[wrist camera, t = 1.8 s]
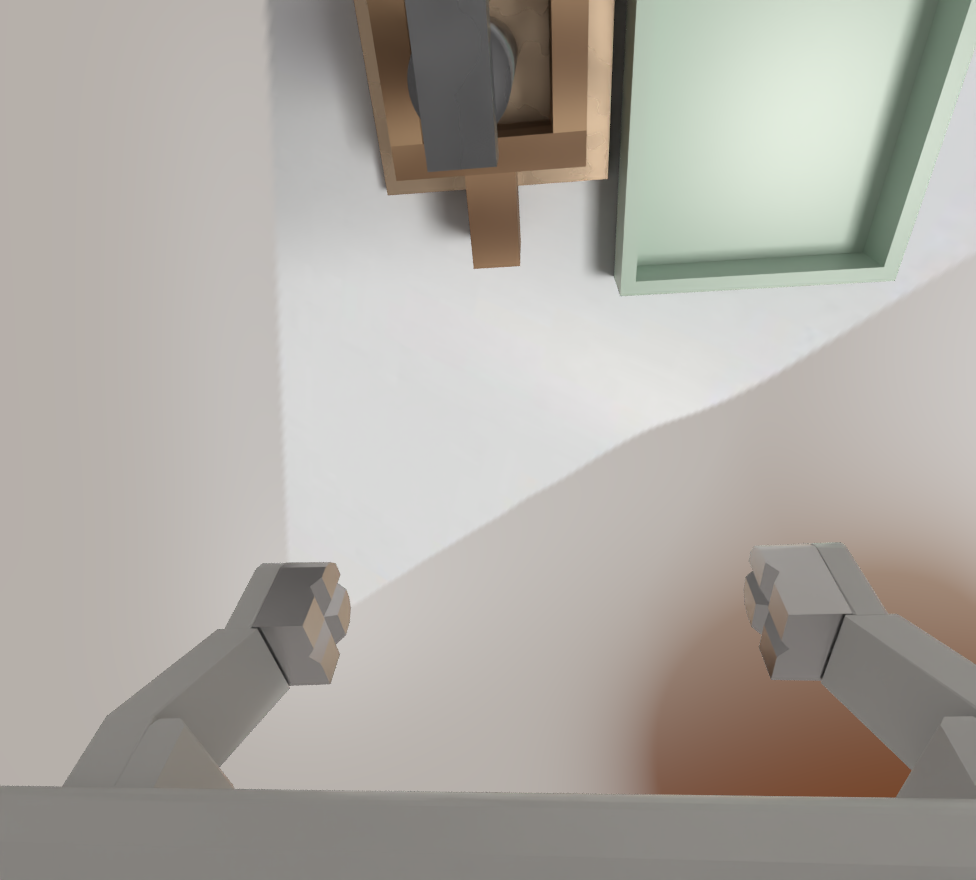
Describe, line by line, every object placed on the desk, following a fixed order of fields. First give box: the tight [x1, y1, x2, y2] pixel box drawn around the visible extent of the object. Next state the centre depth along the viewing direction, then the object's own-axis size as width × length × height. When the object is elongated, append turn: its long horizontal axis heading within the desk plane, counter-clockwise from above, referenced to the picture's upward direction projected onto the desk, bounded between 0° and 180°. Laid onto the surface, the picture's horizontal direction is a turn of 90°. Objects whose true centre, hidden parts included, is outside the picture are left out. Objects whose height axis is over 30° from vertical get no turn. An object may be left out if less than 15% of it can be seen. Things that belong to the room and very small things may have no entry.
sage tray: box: [614, 0, 976, 296], centre depth 27 cm, size 20×15×3 cm
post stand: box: [354, 0, 615, 195], centre depth 22 cm, size 12×12×16 cm
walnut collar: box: [367, 0, 589, 269], centre depth 28 cm, size 14×9×4 cm, turn 5°
